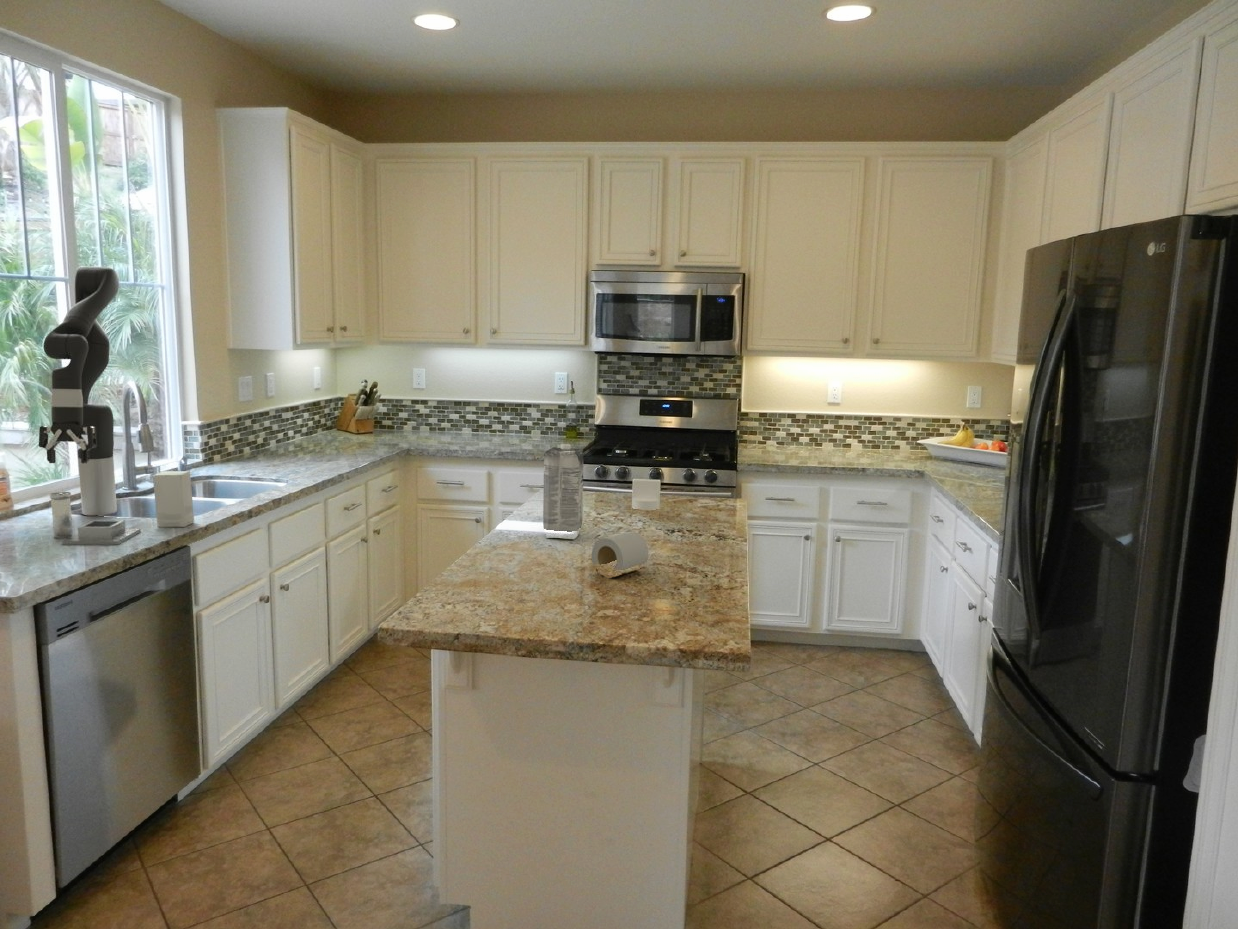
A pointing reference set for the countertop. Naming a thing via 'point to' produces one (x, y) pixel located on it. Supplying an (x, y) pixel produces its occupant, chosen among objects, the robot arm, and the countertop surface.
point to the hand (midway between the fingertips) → (68, 463)
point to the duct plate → (101, 533)
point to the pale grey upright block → (61, 514)
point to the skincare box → (173, 498)
